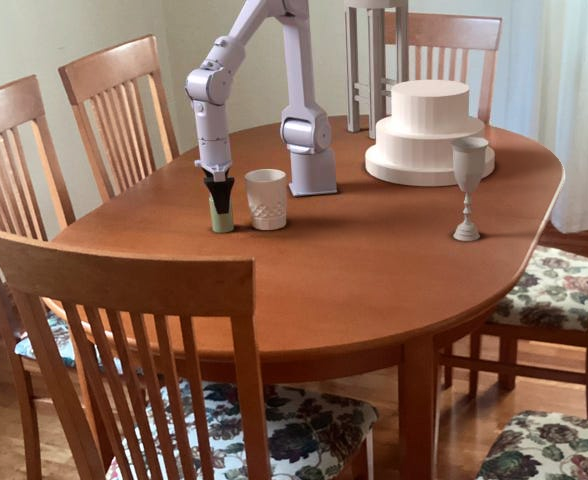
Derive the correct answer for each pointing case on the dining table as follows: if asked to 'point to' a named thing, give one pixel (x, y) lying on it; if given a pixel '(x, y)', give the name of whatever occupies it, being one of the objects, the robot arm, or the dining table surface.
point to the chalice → (468, 178)
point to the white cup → (267, 198)
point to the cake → (424, 134)
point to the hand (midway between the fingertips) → (221, 206)
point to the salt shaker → (221, 218)
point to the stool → (373, 58)
